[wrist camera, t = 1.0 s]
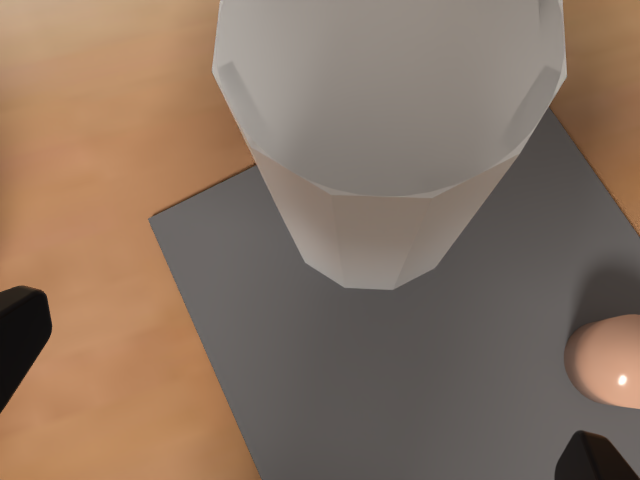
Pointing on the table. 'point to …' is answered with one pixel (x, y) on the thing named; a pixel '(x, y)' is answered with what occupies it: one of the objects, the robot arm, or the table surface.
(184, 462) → the table surface
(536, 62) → the cover cup
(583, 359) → the pinkish tan round piece
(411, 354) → the mat
